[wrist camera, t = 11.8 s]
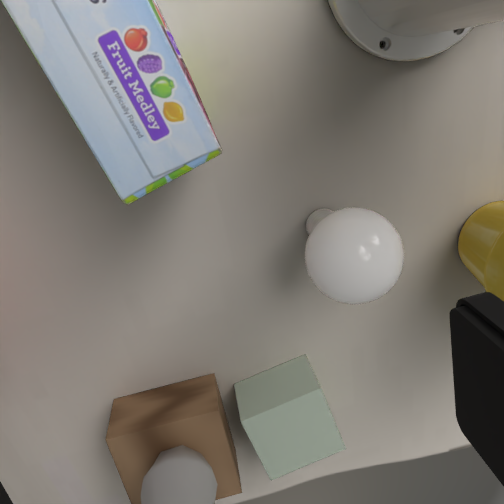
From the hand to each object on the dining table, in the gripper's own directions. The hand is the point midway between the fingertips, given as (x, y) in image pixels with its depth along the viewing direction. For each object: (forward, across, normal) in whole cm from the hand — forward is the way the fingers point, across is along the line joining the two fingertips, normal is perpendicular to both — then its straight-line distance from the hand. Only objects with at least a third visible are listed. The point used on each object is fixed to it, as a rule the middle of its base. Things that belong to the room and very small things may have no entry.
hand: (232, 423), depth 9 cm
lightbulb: (+28, -8, +7) cm, 30 cm away
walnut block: (+28, +8, +23) cm, 36 cm away
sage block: (+28, -2, +23) cm, 36 cm away
